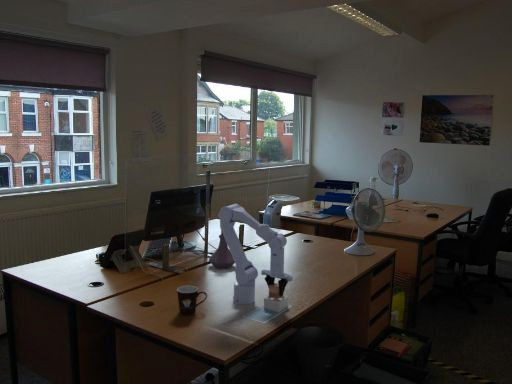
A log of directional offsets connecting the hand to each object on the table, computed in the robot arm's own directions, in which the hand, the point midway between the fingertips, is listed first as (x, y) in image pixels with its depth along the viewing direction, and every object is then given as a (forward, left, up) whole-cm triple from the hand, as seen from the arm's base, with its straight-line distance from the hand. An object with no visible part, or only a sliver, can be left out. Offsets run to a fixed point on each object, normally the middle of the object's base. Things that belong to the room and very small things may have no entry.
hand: (276, 294), depth 196 cm
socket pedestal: (0, 0, -6) cm, 6 cm away
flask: (-21, +61, -7) cm, 65 cm away
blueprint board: (-4, -4, -7) cm, 9 cm away
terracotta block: (0, 0, -1) cm, 1 cm away
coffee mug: (-36, -2, -7) cm, 37 cm away
